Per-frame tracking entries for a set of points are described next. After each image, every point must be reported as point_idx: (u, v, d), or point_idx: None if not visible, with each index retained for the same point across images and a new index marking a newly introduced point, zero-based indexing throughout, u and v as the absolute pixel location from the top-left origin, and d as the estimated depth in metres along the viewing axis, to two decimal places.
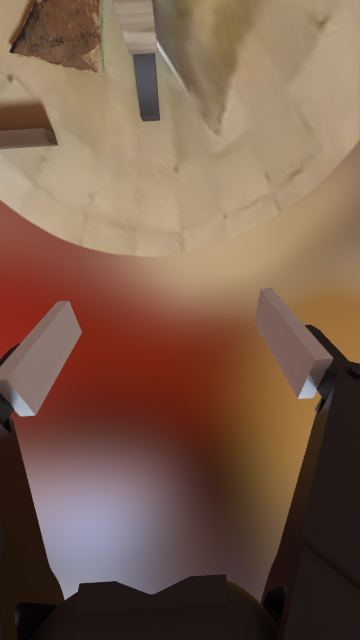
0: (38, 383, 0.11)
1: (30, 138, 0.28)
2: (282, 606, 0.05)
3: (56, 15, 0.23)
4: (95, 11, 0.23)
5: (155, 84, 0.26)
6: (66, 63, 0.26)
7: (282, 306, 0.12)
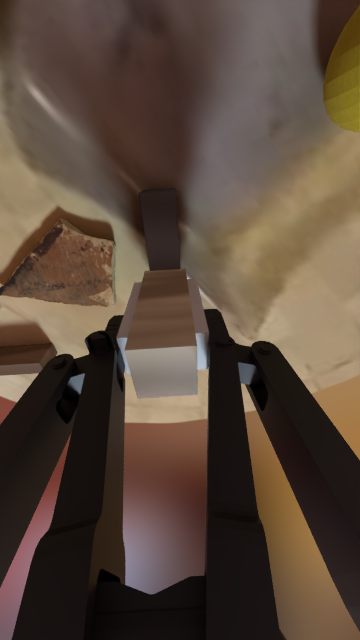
0: None
1: (22, 370, 0.22)
2: None
3: (55, 267, 0.18)
4: (106, 263, 0.18)
5: None
6: (68, 301, 0.20)
7: (195, 293, 0.14)
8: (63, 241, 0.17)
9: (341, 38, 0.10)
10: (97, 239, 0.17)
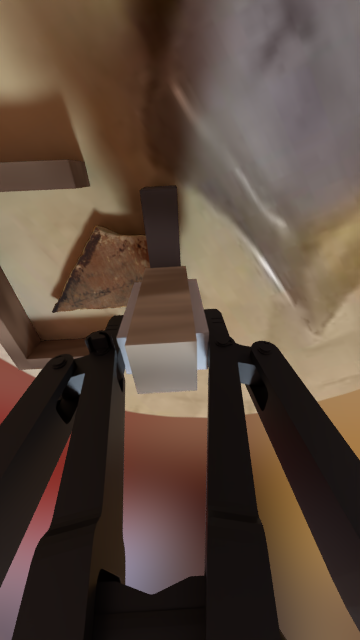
0: None
1: None
2: None
3: (99, 273, 0.19)
4: (145, 258, 0.18)
5: None
6: (115, 305, 0.21)
7: (195, 293, 0.14)
8: (102, 247, 0.18)
9: None
10: (133, 237, 0.17)
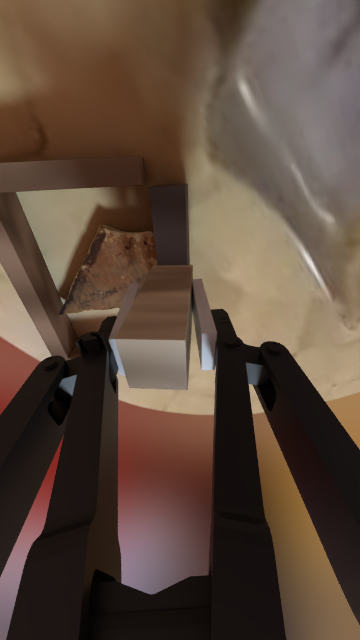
0: None
1: None
2: None
3: (106, 273, 0.18)
4: (151, 255, 0.18)
5: None
6: None
7: (201, 293, 0.14)
8: (108, 245, 0.17)
9: None
10: (139, 233, 0.17)
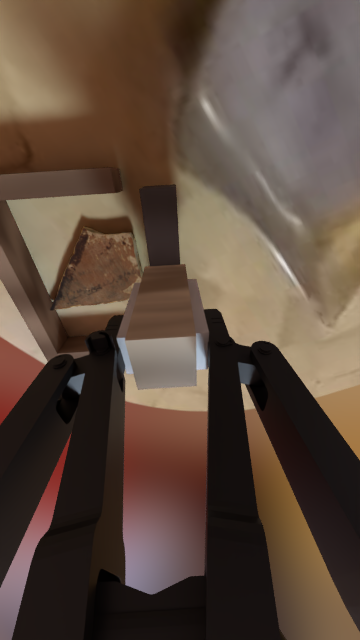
0: None
1: None
2: None
3: (90, 271, 0.20)
4: (130, 254, 0.19)
5: None
6: (107, 300, 0.22)
7: (195, 293, 0.14)
8: (91, 246, 0.19)
9: None
10: (117, 235, 0.19)
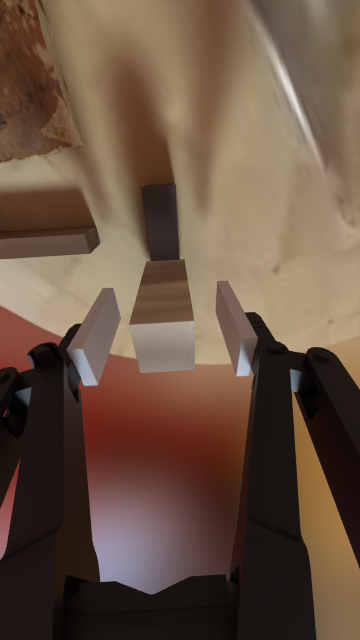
0: (98, 357, 0.12)
1: (60, 248, 0.17)
2: None
3: None
4: (37, 40, 0.12)
5: None
6: (22, 153, 0.15)
7: (231, 296, 0.13)
8: None
9: None
10: None
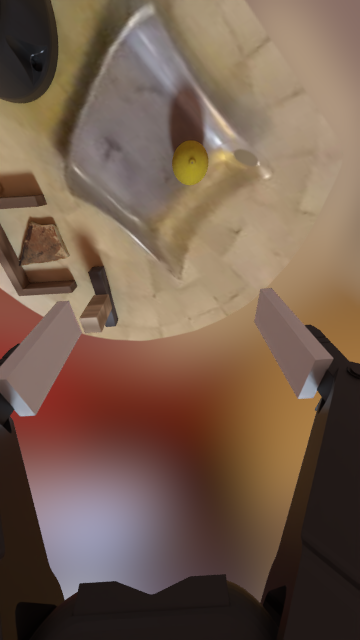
0: (38, 383, 0.11)
1: (61, 290, 0.45)
2: (282, 606, 0.05)
3: (36, 244, 0.41)
4: (54, 235, 0.40)
5: (112, 316, 0.49)
6: (48, 260, 0.43)
7: (282, 306, 0.12)
8: (34, 231, 0.40)
9: None
10: (46, 225, 0.39)
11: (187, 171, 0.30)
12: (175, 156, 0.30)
